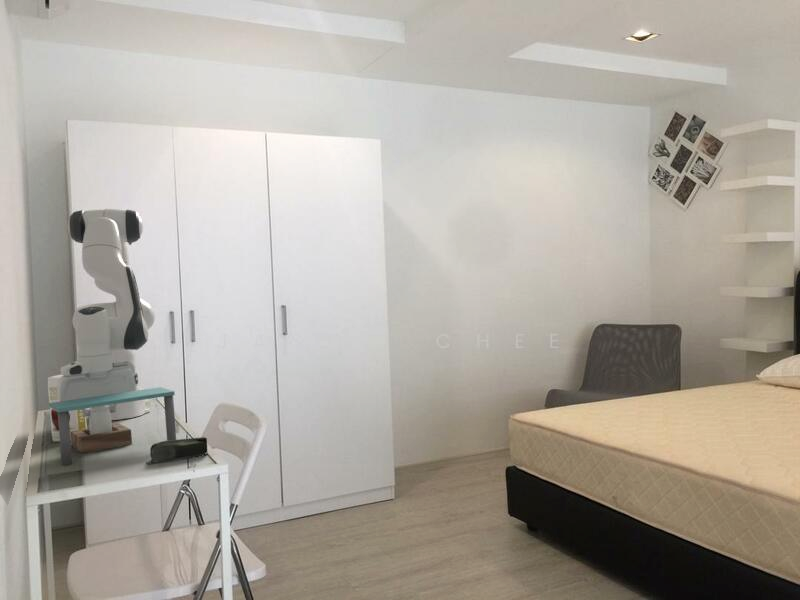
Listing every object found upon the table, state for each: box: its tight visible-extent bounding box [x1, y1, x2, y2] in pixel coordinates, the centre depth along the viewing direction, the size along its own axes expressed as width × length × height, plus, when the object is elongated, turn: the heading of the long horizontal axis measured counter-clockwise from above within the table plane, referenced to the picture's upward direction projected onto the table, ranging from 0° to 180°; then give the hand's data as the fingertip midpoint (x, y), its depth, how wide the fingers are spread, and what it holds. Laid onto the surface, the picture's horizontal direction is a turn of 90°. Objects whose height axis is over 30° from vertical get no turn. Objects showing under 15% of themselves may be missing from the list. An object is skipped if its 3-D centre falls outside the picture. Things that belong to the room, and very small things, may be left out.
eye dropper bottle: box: [88, 405, 113, 435], centre depth 194 cm, size 4×6×12 cm
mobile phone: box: [144, 436, 208, 465], centre depth 173 cm, size 5×3×15 cm
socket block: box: [70, 422, 133, 454], centre depth 194 cm, size 13×13×4 cm
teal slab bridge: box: [48, 386, 177, 466], centre depth 185 cm, size 12×29×14 cm, turn 127°
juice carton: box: [47, 373, 88, 443], centre depth 203 cm, size 8×9×19 cm
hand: (99, 414), depth 194 cm, fingers closed on eye dropper bottle, 6 cm apart
